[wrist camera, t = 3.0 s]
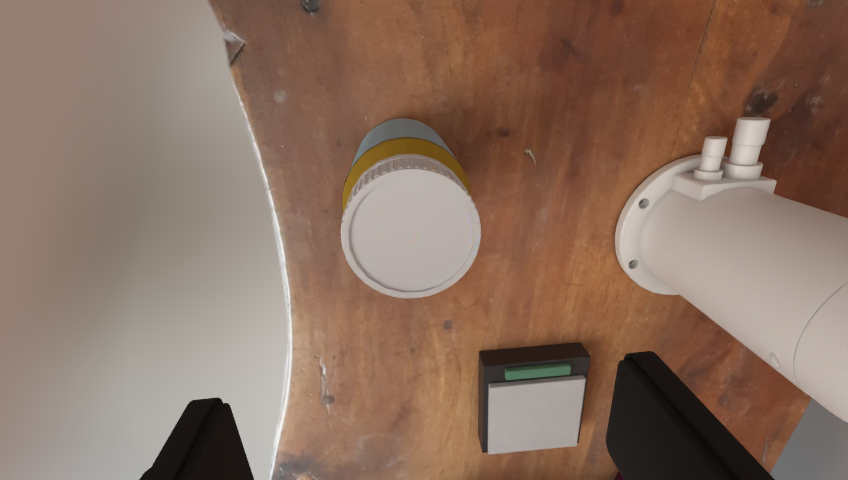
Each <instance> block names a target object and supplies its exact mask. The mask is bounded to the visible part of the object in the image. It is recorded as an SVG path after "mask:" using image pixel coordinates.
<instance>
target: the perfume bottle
mask: <svg viewBox="0 0 848 480" xmlns="http://www.w3.org/2000/svg"><path fill="white" fill-rule="evenodd" d="M615 480H624V478H623V477H622V475H621V473H620V472H619V473H618V474H617V476H616V478H615Z"/></svg>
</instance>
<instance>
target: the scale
mask: <svg viewBox="0 0 848 480" xmlns="http://www.w3.org/2000/svg"><path fill="white" fill-rule="evenodd" d="M589 363H590V356H589V354H588V353H587V351H586V350H585V349H584V347H583V346H582V344H581V343H571V344H560V345H549V346H537V347H526V348H515V349H503V350H492V351H481V352H479V414H478V436H479V440H480V444H481V448H482V452H483V453H485V452H488V454H489V455H491V454H501V453H511V452H520V451H530V450H540V449H550V448H560V447H570V446H577V443H579V436H580V428H581V421H582V414H583V407H584V400H585V392H586V385H587V378H588V371H589Z"/></svg>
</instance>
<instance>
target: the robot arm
mask: <svg viewBox="0 0 848 480" xmlns="http://www.w3.org/2000/svg"><path fill="white" fill-rule="evenodd" d="M770 120H771V119H769V118H762V117H740V118H738V119H737V123H736V127H735V131H734V135H733V139H732V143H733V145H732V149H731V153H730V157H726V156H723V155H724V151H725V147H726V143H727V139H728V138H726V137H721V136H707V137H705V140H704V144H703V149H702V154H698V155H691V156H687V157H684V158H681V159H677V160H675V161H673V162H671V163H669V164H667V165H665V166H663V167H661V168H660V169H658V170H657V171H656V172H654V173H653V174H651V175H650V176H649V177H648V178H647V179H646V180H645V181H644V182H642V183H641V184H640V185H639V186H638V187H637V189H636V190H635V191H634V193H633V194H632V195H631V196H630V198H629V199H628V201H627V203H626V204H625V206H624V208H623V210H622V212H621V214H620V217H619V220H618V223H617V226H616V233H615V251H616V255H617V258H618V262H619V264H620V265H621V267H622V269H623V271H624V272H625V273H626V274H627V275H628V276H629V277H630V278H631V279H632V280H633V281H634V282H636V283H637V284H638V285H639V286H641V287H642V288H644V289H646V290H648V291H651V292H654V293H658V294H662V295H681V296H682V297H684V298H685V299H686V300H687V301H689V302H690V303H691V304H693V305H694V306H695V307H696V308H698V309H699V310H700V311H701V312H703V313H704V314H705V315H707V316H708V317H709V318H710V319H712V320H713V321H714V322H715V323H717V324H718V325H719V326H721V327H722V328H723V329H724V330H726V331H727V332H728V333H729V334H731V335H732V336H733V337H735V338H736V339H737V340H738V341H740V342H741V343H742V344H744V345H745V346H746V347H747V348H749V349H750V350H751V351H752V352H754V353H755V354H756V355H758V356H759V357H760V358H761V359H763V360H764V361H765V362H766V363H768V364H769V365H770V366H772V367H773V368H774V369H775V370H777V371H778V372H779V373H780V374H782V375H783V376H784V377H786V378H787V379H788V380H789V381H791V382H792V383H793V384H795V385H796V386H797V387H798V388H800V389H801V390H802V391H803V392H805V393H806V394H807V395H809V396H810V397H812V398H813V399H814V400H816V401H817V402H818V403H820V404H821V405H822V406H823V407H825V408H826V409H827V410H828V411H830V412H831V413H833V414H834V415H836V416H837V417H839V418H840V419H842V420H843V421H845V422H847V423H848V218H845V217H842V216H839V215H836V214H833V213H830V212H827V211H823V210H820V209H817V208H814V207H811V206H808V205H805V204H802V203H799V202H796V201H793V200H790V199H787V198H784V197H781V196H778V195H775V194H773V193H774V189H775V186H776V182H777V181H776V180H773V179H769V178H766V177H762V176H760V175H761V170H762V167H763V163H761V162H758V161H757V160H758V157H759V153H760V149H761V146H762V145H763V144H764V142H765V139H766V135H767V131H768V128H769V124H770ZM606 445H607V449H608V452H609V454H610V456H611V458H612V459H613V461H614V463H615V465H616V466H617V468H618V470H619V472H620V473H621V475H622V477H623V478H624V480H774V478H772V476H771V475H770V474H769V473H768V472H767V471H766V470H765V469H764V468H763V467H762V466H761V465H760V464H759V463H758V461H757V460H756V459H755V458H754V457H753V456H752V455H751V454H750V453H749V452H748V451H747V450H746V449H745V448H744V447H743V446H742V445H741V443H740V442H739V441H738V440H737V439H736V438H735V437H734V436H733V435H732V434H731V433H730V432H729V431H728V430H727V429H726V428H725V427H724V425H723V424H722V423H721V422H720V421H719V420H718V419H717V418H716V417H715V416H714V415H713V414H712V413H711V412H710V411H709V410H708V409H707V407H706V406H705V405H704V404H703V403H702V402H701V401H700V400H699V399H698V398H697V397H696V396H695V395H694V394H693V393H692V392H691V390H690V389H689V388H688V387H687V386H686V385H685V384H684V383H683V382H682V381H681V380H680V379H679V378H678V377H677V376H676V375H675V374H674V372H673V371H672V370H671V369H670V368H669V367H668V366H667V365H666V364H665V363H664V362H663V361H662V360H661V359H660V358H659V357H658V356H657V355H656V354H655V353H654V352H651V351H646V352H637V353H629V354H626V355H625V357H624V360H621V361H620V362H619V364H618V369H617V375H616V381H615V387H614V393H613V399H612V405H611V411H610V417H609V423H608V429H607V435H606ZM140 480H254V478H253V475H252V472H251V469H250V466H249V463H248V460H247V457H246V454H245V451H244V448H243V445H242V441H241V438H240V435H239V432H238V429H237V426H236V423H235V420H234V417H233V413H232V410H231V408H230V405H229V404H228V403H224V404H223V402H222V400H221V399H220V398H209V399H200V400H193V401H191V402H190V403H189V404H188V405H187V407H186V409H185V410H184V412H183V414H182V416H181V417H180V419H179V421H178V422H177V424H176V426H175V428H174V429H173V431H172V433H171V434H170V436H169V438H168V440H167V441H166V443H165V445H164V446H163V448H162V450H161V451H160V453H159V455H158V457H157V458H156V460H155V462H154V464H153V466H152V467H151V468H150V469H148V470H147V471H146V472H145V473H144V474H143V475H142V477H141V478H140Z"/></svg>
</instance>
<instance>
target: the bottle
mask: <svg viewBox="0 0 848 480" xmlns="http://www.w3.org/2000/svg"><path fill="white" fill-rule="evenodd" d="M342 208H343V213H344V214H343V217H342V222H341V227H342V228H341V231H340V234H341V242H342V248H343V251H344V255H345V257H346V259H347V261H348V263H349V265H350V267H351V268H352V270H353V271H354V272H355V273H356V275H357V276H358V277H359V278H360V279H361V280H362V281H363V282H365V283H366V284H367V285H369V286H370V287H372V288H373V289H375V290H377V291H379V292H381V293H384V294H387V295H390V296H394V297H400V298H420V297H425V296H430V295H433V294H436V293H438V292H441V291H443V290H445V289H447V288H448V287H450V286H451V285H453V284H454V283H456V282H457V281H458V280H459V279H460V278H461V277H462V276H463V275H464V274H465V273H466V272H467V270H468V269H469V268H470V266H471V265H472V263H473V261H474V259H475V257H476V255H477V252H478V248H479V244H480V239H481V238H480V237H481V228H480V227H481V223H480V221H479V220H480V216H479V215H478V210H477V208H476V206H475V203H474V201H473V199H472V197H471V188H470V184H469V181H468V179H467V177H466V175H465V173H464V171H463V169H462V166H461V165H460V163H459V162H458V161H457V159H456V158H455V156H454V155H453V154H452V152H451V151H450V150H449V148H448V147H447V145H446V144H445V143H444V141H443V140H442V138H441V137H440V136H439V135H438V134H437V133H436V132H435V131H434V130H433V129H432V128H431V127H429V126H428V125H426V124H424V123H422V122H420V121H418V120H415V119H409V118H396V119H390V120H387V121H384V122H382V123H381V124H379V125H377V126H375V127H374V128H373V129H372V130H371V131H370V132H369V133H368V134H367V135H366V136H365V137H364V139H363V140H362V142H361V144H360V147H359V149H358V151H357V153H356V156H355V158H354V161H353V163H352V166H351V168H350V171H349V173H348V176H347V178H346V181H345V184H344V189H343V200H342Z"/></svg>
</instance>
